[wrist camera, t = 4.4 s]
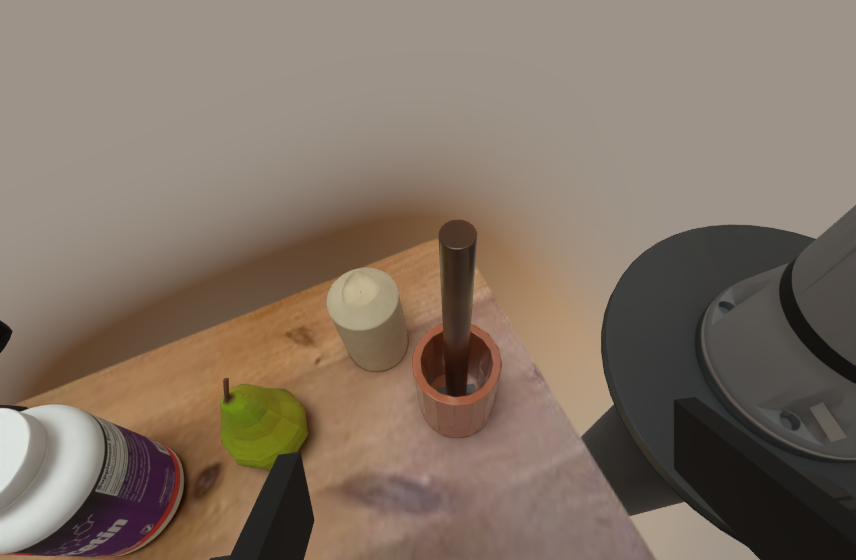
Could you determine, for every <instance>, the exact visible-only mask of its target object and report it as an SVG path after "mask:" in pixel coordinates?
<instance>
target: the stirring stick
mask: <svg viewBox="0 0 856 560" xmlns="http://www.w3.org/2000/svg"><path fill="white" fill-rule="evenodd" d="M476 244H477V232H476V229H475V228H474V226H473V225H472V224H470V223H469V222H467V221H464V220H452V221H449V222H447V223H445V224H444V225H443V226H442V227H441V229H440V231H439V255H440V276H441V296H442V317H443V337H444V358H445V379H446V387H442V388H437V391H438V392H439V393H441V394H445V395H449V396H453V397H459V396H467V395H470V394H472V393H474V392H475V387H474V384H467V373H468V359H469V345H470V330H471V316H472V301H473V287H474V273H475V258H476Z"/></svg>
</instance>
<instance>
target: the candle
mask: <svg viewBox="0 0 856 560" xmlns="http://www.w3.org/2000/svg"><path fill="white" fill-rule="evenodd" d="M327 309H328V312H329V314H330V317H331V318H332V320H333V322H334V324H335V326H336V328H337V330H338V332H339V334H340V336H341V338H342V340H343V342H344V344H345V346H346V348H347V350H348V352H349V354H350V356H351V358H352V359H353V361H354V362H355V363H356V364H357V365H358V366H360V367H361V368H363V369H365V370H368V371H375V372H378V371H384V370H388V369H390V368H392V367H394V366H395V365H396V364H398V363H399V362H400V361H401V359H402V358H403V357H404V355H405V353H406V350H407V346H408V337H407V331H406V326H405V321H404V316H403V311H402V307H401V302H400V297H399V292H398V288H397V285H396V283H395V282H394V280H393V279H392V278H391V277H390V276H389V275H388V274H387V273H385V272H383V271H381V270H378V269H375V268H358V269H354V270H351V271H349V272H347V273H345V274H343V275H342V276H340V277H339V278H338V279H337V280H336V281H335V282H334V283H333V285H332V286H331V288H330V290H329V292H328V295H327Z"/></svg>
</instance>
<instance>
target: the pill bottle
mask: <svg viewBox="0 0 856 560" xmlns="http://www.w3.org/2000/svg"><path fill="white" fill-rule="evenodd" d="M183 488H184V474H183V468H182V464H181V462H180V460H179V458H178V456H177V455H176V454H175V453H174V451H173V450H171V449H170V448H169V447H167V446H166V445H164V444H162V443H160V442H157V441H154V440H152V439H149V438H147V437H145V436H142V435H140V434H137V433H135V432H132V431H130V430H128V429H125V428H123V427H121V426H118V425H116V424H113V423H111V422H109V421H106V420H104V419H102V418H99V417H97V416H95V415H92V414H90V413H88V412H85V411H83V410H80V409H78V408H75V407H72V406H67V405H43V406H38V407H33V408H30V409H27V410H24V411H21V412H19V411H16V410H12V409H8V408H0V555H40V556H83V557H116V556H122V555H125V554H128V553H131V552H133V551H136V550H138V549H140V548H141V547H143V546H145V545H146V544H148V543H149V542H150V541H152V540H153V539H154V538H155V537H156V536H157V535H158V534H159V533H161V531H162V530H163V529H164V528H165V527H166V526H167V524H168V523H169V522H170V520H171V519H172V517H173V516H174V514H175V512H176V510H177V508H178V506H179V503H180V500H181V497H182V494H183Z"/></svg>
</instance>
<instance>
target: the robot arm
mask: <svg viewBox="0 0 856 560" xmlns="http://www.w3.org/2000/svg"><path fill="white" fill-rule="evenodd" d="M695 349H696V355H697V360H698V363H699V366H700V369H701V371H702V374H703V376H704V378H705V380H706V382H707V384H708V386H709V387H710V389H711V390H712V392H713V393H714V395H715V396H716V397H717V399H718V400H719V401H720V403H721V404H722V405H723V406H724V407H725V408H726V410H727V411H728V412H729V413H730V414H731V415H732V416H733V417H734V418H735V419H736V420H738V421H739V422H740V423H741V424H742V425H743V426H745V427H746V428H747V429H748V430H750V431H751V432H753V433H754V434H755V435H757V436H758V437H760V438H761V439H763V440H765V441H766V442H768V443H770V444H772V445H774V446H775V447H778V448H780V449H782V450H784V451H786V452H789V453H791V454H794V455H797V456H800V457H803V458H807V459H810V460H815V461H820V462H828V463H852V462H856V205H855V206H854V207H853V208H852V209H851V210H849V211H848V212H847V213H846V214H845V215H844V216H843V217H841V218H840V219H839V220H838V221H837V222H836V223H834V224H833V225H832V226H831V227H830V228H829V229H828V230H827V231H825V232H824V233H823V234H822V235H821V236H820V237H819V238H817V239H816V240H815V241H814V242H813V243H811V244H810V245H809V246H808V247H807V248H806V249H805V250H804V251H803V252H802V253H800V254H799V255H798V256H797V257H796V258H795V259H794V260H792V261H791V262H790V263H787V264H785V265H782V266H779V267H777V268H774V269H771V270H769V271H766V272H763V273H761V274H758V275H755V276H753V277H750V278H747V279H745V280H742V281H740V282H738V283H736V284H734V285H732V286H730V287H728V288H727V289H725V290H724V291H723V292H721V293H720V294H719V295H718V296H717V297H716V298H715V299H714V300H713V301H712V302H711V303H710V304H709V305H708V306H707V308H706V309H705V310H704V311H703V313H702V315H701V317H700V319H699V321H698V324H697V328H696V333H695ZM674 469H675V470H676V471H677V473H678V474H679V475H680V476H681V477H682V478H683V479H684V480H685V481H686V482H687V483H688V484H689V485H690V486H691V487H692V488H693V489H694V490H695V492H696V493H697V494H698V495H699V496H700V497H701V498H702V499H703V500H704V501H705V502H706V503H707V504H708V505H709V506H710V507H711V508H712V509H713V511H714V512H715V513H716V514H717V515H718V516H719V517H720V518H721V519H722V520H723V521H724V522H725V523H726V524H727V525H728V526H729V527H730V528H731V530H732V531H733V532H734V533H735V534H736V535H737V536H738V537H739V538H740V539H741V540H742V541H743V542H744V543H745V544H746V545H747V546H748V547H749V548H750V550H751V551H752V552H754V554H755V555H756V556H757V557H758V558H759V559H760V560H856V499H854V498H853V496H852V495H851V494H849V493H848V492H847V491H845V490H844V489H842V488H841V487H839V486H838V485H837V484H835V483H834V482H832V481H830V480H827V479H825V478H823V477H821V476H818V475H816V474H814V473H812V472H810V471H805V472H797V471H796V470H795V469H793V468H792V467H791V466H789V465H788V464H786V463H785V462H784V461H782V460H781V459H780V458H778V457H777V456H775V455H774V454H773V453H771V452H770V451H769V450H767V449H766V448H765V447H763V446H762V445H760V444H759V443H758V442H756V441H755V440H754V439H752V438H751V437H749V436H748V435H747V434H745V433H744V432H743V431H741V430H740V429H738V428H737V427H736V426H734V425H733V424H732V423H730V422H729V421H728V420H726V419H725V418H723V417H722V416H721V415H719V414H718V413H717V412H715V411H714V410H712V409H711V408H710V407H708V406H707V405H706V404H704V403H703V402H701V401H700V400H699V399H697V398H696V397H690V398H683V399H676V400H674ZM313 524H314V515H313V511H312V506H311V501H310V496H309V491H308V486H307V482H306V477H305V472H304V467H303V462H302V457H301V453H300V452H294V453H287V454H280V455H278V456H277V458H276V460H275V462H274V464H273V466H272V469H271V471H270V473H269V475H268V477H267V479H266V481H265V483H264V485H263V488H262V490H261V492H260V494H259V496H258V498H257V500H256V502H255V505H254V507H253V509H252V511H251V513H250V515H249V517H248V519H247V521H246V524H245V526H244V528H243V530H242V532H241V534H240V536H239V538H238V540H237V543H236V545H235V547H234V549H233V551H232V553H231V555H229V556H222V557H215V558H211V559H210V560H304V557H305V553H306V549H307V546H308V542H309V538H310V535H311V531H312V527H313Z"/></svg>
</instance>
